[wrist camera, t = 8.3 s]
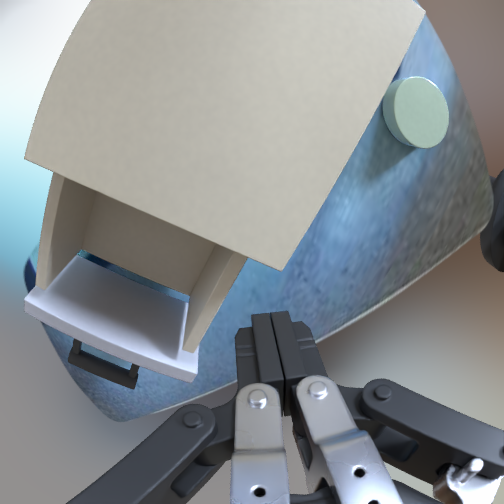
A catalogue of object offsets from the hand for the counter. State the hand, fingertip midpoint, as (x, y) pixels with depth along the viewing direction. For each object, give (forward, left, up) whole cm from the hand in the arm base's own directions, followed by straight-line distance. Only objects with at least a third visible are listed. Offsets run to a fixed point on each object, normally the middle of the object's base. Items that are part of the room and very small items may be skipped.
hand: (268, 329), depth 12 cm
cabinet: (+7, -9, -12) cm, 17 cm away
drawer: (+7, +4, -11) cm, 14 cm away
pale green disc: (-7, -15, -12) cm, 21 cm away
